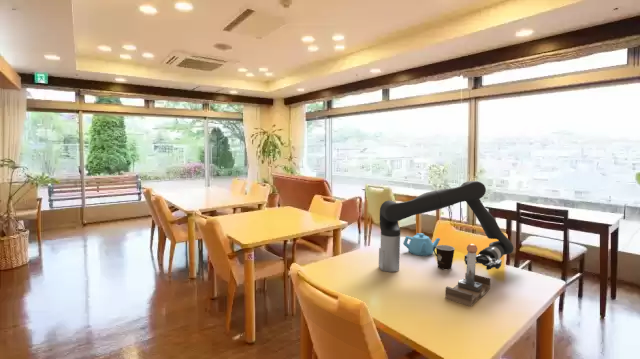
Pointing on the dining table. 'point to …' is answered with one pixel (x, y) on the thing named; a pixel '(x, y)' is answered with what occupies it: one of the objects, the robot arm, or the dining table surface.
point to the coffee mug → (444, 256)
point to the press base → (468, 292)
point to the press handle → (470, 271)
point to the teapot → (420, 244)
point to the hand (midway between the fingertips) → (476, 264)
